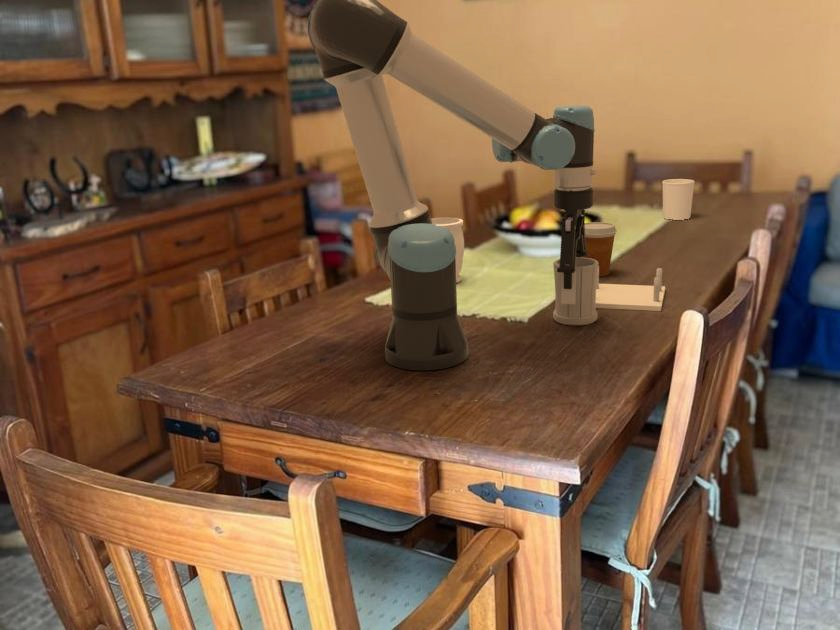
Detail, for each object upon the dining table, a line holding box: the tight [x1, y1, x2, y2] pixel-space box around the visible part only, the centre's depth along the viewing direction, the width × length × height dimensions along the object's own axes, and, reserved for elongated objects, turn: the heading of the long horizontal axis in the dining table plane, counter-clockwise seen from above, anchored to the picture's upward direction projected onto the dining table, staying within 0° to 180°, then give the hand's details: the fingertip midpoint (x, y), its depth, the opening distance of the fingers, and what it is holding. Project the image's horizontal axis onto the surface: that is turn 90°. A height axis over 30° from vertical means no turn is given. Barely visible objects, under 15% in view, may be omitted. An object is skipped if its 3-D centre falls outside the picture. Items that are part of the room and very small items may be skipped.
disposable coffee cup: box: [582, 221, 618, 278], centre depth 197 cm, size 10×10×12 cm
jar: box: [431, 217, 465, 284], centre depth 197 cm, size 11×10×15 cm
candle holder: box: [661, 178, 695, 221], centre depth 260 cm, size 10×10×12 cm
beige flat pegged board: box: [595, 266, 666, 312], centre depth 176 cm, size 16×16×6 cm
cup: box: [552, 257, 599, 326], centre depth 164 cm, size 10×9×12 cm
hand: (573, 295), depth 165 cm, fingers closed on cup, 11 cm apart
